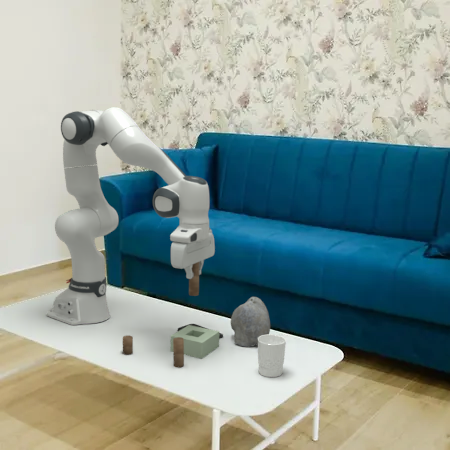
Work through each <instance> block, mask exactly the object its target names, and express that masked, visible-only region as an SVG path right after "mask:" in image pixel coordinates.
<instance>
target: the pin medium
mask: <svg viewBox="0 0 450 450" xmlns="http://www.w3.org/2000/svg"><path fill="white" fill-rule="evenodd" d="M172 353H173V356H172V357H173V367H174V368H182V367H184V366H185V355H184V339H183V338H181V337H177V338H174V339H173V352H172Z"/></svg>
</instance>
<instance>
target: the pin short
mask: <svg viewBox="0 0 450 450" xmlns="http://www.w3.org/2000/svg"><path fill="white" fill-rule="evenodd" d="M133 337H134V336H133V335H124V336H122V354H123V355H125V356H130V355H132V354H133V353H134V346H133V345H134V340H133Z"/></svg>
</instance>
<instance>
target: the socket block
mask: <svg viewBox="0 0 450 450" xmlns="http://www.w3.org/2000/svg"><path fill="white" fill-rule="evenodd" d="M187 325H188V326H186V325H185V326H186V327H185V328H183V329H181V330H180V331H177V332H175V333H173V334H171V335H170V352H172V353H173V339H174V338H177V337H181V338H183V339H184V356H187V357H188V356H189V357H194V358H197V359H204V358H205V357H206V356H207V355H209V354H210V353H212V352H214V351H215V350H216V349H218V348H219V347H220V339H219V333H220V331H219V330H215V329H209V328H208V329H206V328H207V327H205V328H201V327H196V326H191V325H189V324H187Z"/></svg>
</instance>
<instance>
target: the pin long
mask: <svg viewBox="0 0 450 450" xmlns="http://www.w3.org/2000/svg"><path fill="white" fill-rule="evenodd" d="M192 272H194V277H193V278H191V279H188V295H189V296H192V297H193V296H194V297H196V296H199V295H200V294H199V293H200V275H199V262H197V263H195V264H193V266H192Z"/></svg>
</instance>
